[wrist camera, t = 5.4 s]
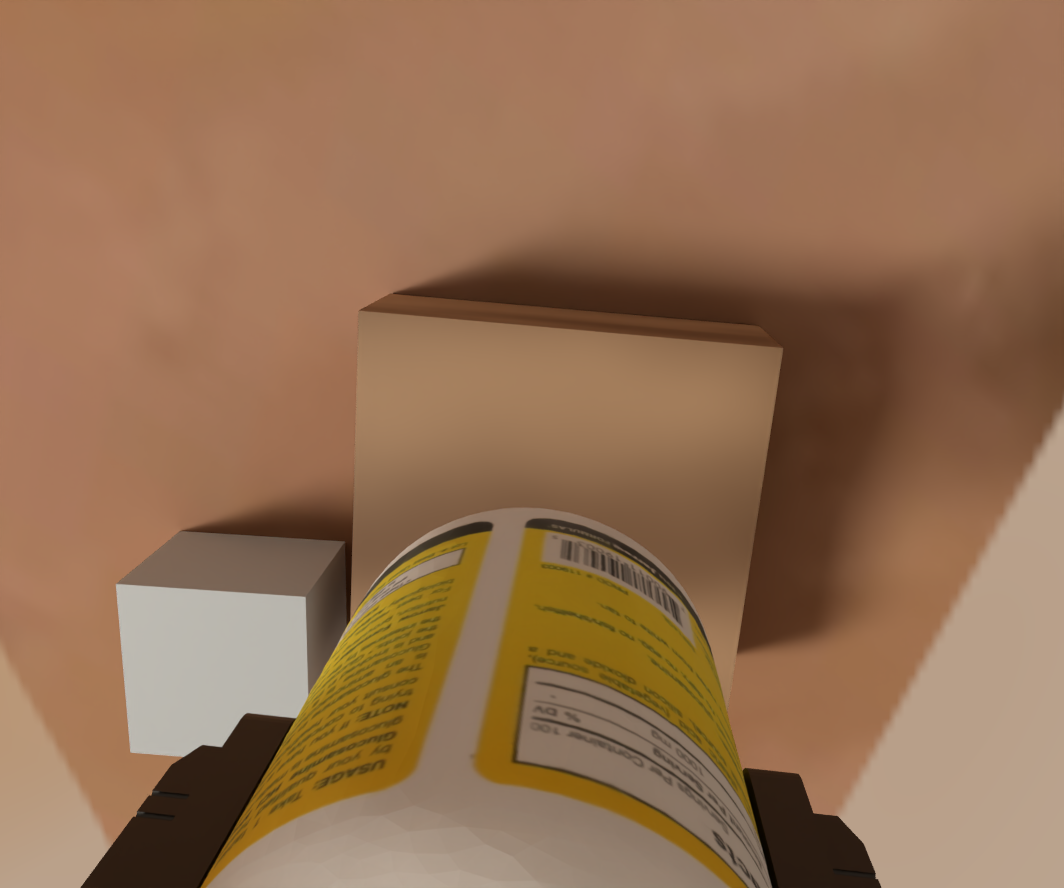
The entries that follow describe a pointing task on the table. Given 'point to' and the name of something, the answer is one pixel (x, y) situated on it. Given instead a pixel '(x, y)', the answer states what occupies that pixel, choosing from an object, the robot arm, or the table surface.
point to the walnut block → (567, 434)
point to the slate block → (225, 634)
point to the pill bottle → (509, 728)
